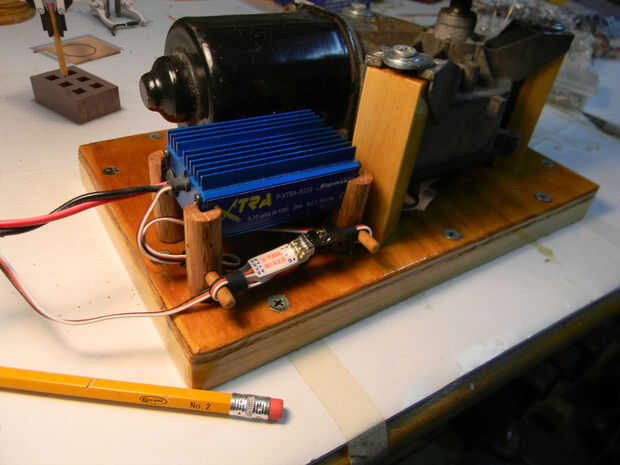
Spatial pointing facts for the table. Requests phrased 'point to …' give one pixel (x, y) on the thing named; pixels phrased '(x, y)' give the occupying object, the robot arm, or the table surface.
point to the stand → (76, 94)
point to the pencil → (57, 39)
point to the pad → (82, 50)
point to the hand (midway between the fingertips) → (56, 34)
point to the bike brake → (104, 9)
